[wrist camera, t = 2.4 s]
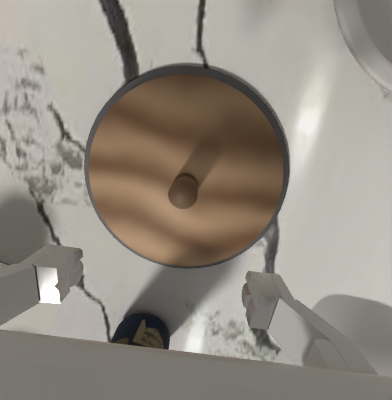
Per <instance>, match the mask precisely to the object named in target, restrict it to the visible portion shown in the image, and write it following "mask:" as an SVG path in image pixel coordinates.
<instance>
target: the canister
mask: <svg viewBox="0 0 392 400" xmlns="http://www.w3.org/2000/svg"><path fill="white" fill-rule="evenodd" d="M169 341H170V336H169V331H168V329H167V327H166V326H165V324H164V323H163V322H162V321H160V320H159V319H157V318H155V317H153V316H149V315H144V314H139V315H133V316H130V317H128V318H126V319H124V320H123V321H122V322H121V323H120V324H119V326H118V327H117V329H116V331H115V334H114V336H113V338H112V341H111V343H116V344H125V345H133V346H141V347H150V348H158V349H167V350H168V349H169Z"/></svg>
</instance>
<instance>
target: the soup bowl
mask: <svg viewBox="0 0 392 400" xmlns="http://www.w3.org/2000/svg"><path fill="white" fill-rule="evenodd" d="M333 1H334V7H335V12H336V16H337V19H338V23H339V26H340V29H341V32H342V34H343V37H344V40H345V42H346V44H347V46H348V48H349V50H350V52H351V53H352V55H353V56H354V58H355V59H356V61H357V62H358V64H359V65H360V66H361V67H362V69H363V70H364V71H365V72H366V73H367V74H368V75H369V76H370V77H371V78H372V79H373V80H375V81H376V82H377V83H378V84H380V85H381V86H383V87H384V88H386V89H387V90H389V91H391V92H392V0H333Z"/></svg>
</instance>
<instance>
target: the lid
mask: <svg viewBox="0 0 392 400" xmlns="http://www.w3.org/2000/svg"><path fill="white" fill-rule="evenodd" d="M283 175H284V174H283V159H282V154H281V148H280V145H279V142H278V139H277V136H276V134H275V132H274V130H273V128H272V126H271V124H270V122H269V121H268V120H267V118H266V117H265V115H264V114H263V112H262V111H261V110H260V109H259V108H258V107H257V106H256V105H255V104H254V102H253V101H251V100H250V99H249V98H248V97H247V96H245V95H244V94H243V93H242V92H240V91H238V90H237V89H235V88H233V87H232V86H230V85H228V84H226V83H223V82H221V81H218V80H216V79H212V78H208V77H204V76H200V75H188V74H181V75H169V76H164V77H160V78H156V79H153V80H150V81H148V82H145V83H143V84H141V85H139V86H137V87H136V88H134V89H132V90H130V91H129V92H128V93H126V94H125V95H124V96H123V97H121V98H120V99H119V100H118V101H117V102H116V103H115V104H114V105H113V106H112V107H111V108H110V109H109V111H108V112H107V114H106V115H105V117H104V118H103V119H102V121H101V123H100V125H99V127H98V129H97V131H96V133H95V136H94V139H93V142H92V145H91V151H90V156H89V180H90V187H91V191H92V195H93V198H94V201H95V203H96V206H97V208H98V210H99V212H100V214H101V216H102V218H103V219H104V221H105V222H106V224H107V225H108V227H109V228H110V229H111V230H112V232H113V233H114V234H115V235H116V236H117V237H118V238H119V239H120V240H121V241H122V242H124V243H125V244H126V245H127V246H129V247H130V248H131V249H133V250H134V251H136V252H138V253H140V254H141V255H143V256H145V257H148V258H150V259H152V260H155V261H158V262H161V263H165V264H170V265H176V266H200V265H206V264H211V263H215V262H218V261H221V260H223V259H226V258H229V257H230V256H232V255H234V254H236V253H238V252H240V251H241V250H242V249H244V248H245V247H247V246H248V245H249V244H250V243H252V242H253V241H254V240H255V239H256V238H257V237H258V236H259V235H260V233H261V232H262V231H263V230H264V229H265V227H266V226H267V224H268V223H269V221H270V220H271V218H272V216H273V214H274V212H275V210H276V208H277V205H278V202H279V199H280V195H281V191H282V186H283Z"/></svg>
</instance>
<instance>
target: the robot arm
mask: <svg viewBox="0 0 392 400" xmlns="http://www.w3.org/2000/svg"><path fill="white" fill-rule="evenodd" d="M82 257H83V251H82V250H81V249H80V248H73V247H67V246H59V245H53V244H47V245H45V246H44V247H42V248H41V249H39V250H38V251H36V252H35V253H33V254H32V255H31V256H29V257H28V258H26V259H25V260H23V261H22V262H20V263H19V264H12V265H8V266H5V267H2V268H0V326H1V325H2V324H4V323H6V322H7V321H9V320H11V319H13V318H14V317H16V316H18V315H19V314H21V313H23V312H24V311H26V310H28V309H30V308H31V307H33V306H35V305H36V304H38V303H39V302H48V303H59V304H60V303H61V302H62V300H63V299H64V298H65V297H66V296H67V295H68V293H69V292H70V287H72V286H74V285H76V284H77V283H78V281H79V280H80V278H81V276H82V274H83V263H82V262H81V261H80V259H81V258H82ZM245 278H246V281H247V283H245V284H244V285H243V289H242V302H243V306H244V307H245V308H246V309H247V310H246V318H247V321H248V325H249V327H251V328H258V329H264V330H268V332H269V333H270V334H271V336H272V337H273V338H274V339H275V341H276V342H277V343H278V344H279V345H280V347H281V348H282V349H283V350H284V352H285V353H286V354H287V355H288V356H289V358H290V359H291V360H292V361H293V363H294V364H295V365H291V364H283V363H275V362H266V361H258V360H249V359H241V358H232V357H224V356H216V355H208V354H200V353H191V352H183V351H175V350H167V349H158V348H150V347H141V346H133V345H125V344H116V343H108V342H100V341H91V340H83V339H75V338H66V337H58V336H50V335H41V334H33V333H24V332H16V331H8V330H0V400H392V377H391V376H382V375H378V373H377V372H376V371H375V369H374V368H373V367H372V366H371V364H370V363H369V362H368V360H367V359H366V357H365V356H364V355H363V353H362V352H361V351H360V349H359V348H358V347H357V345H356V344H355V343H354V342H353V341H352V340H350V339H349V338H347V337H346V336H345V335H343V334H342V333H341V332H339V331H338V330H337V329H336V328H334V327H333V326H332V325H330V324H329V323H328V322H326V321H325V320H324V319H322V318H321V317H320V316H318V315H317V314H315V313H314V312H313V311H312V310H310V309H309V308H308V307H306V306H305V305H304V304H302V303H301V302H300V301H298V300H294V298H293V296H292V295H291V293H290V291H289V290H288V288H287V286H286V285H285V283H284V281H283V280H282V278H281V276H280V275H279V274H272V273H260V272H252V271H248V272H247V274H246V277H245Z"/></svg>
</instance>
